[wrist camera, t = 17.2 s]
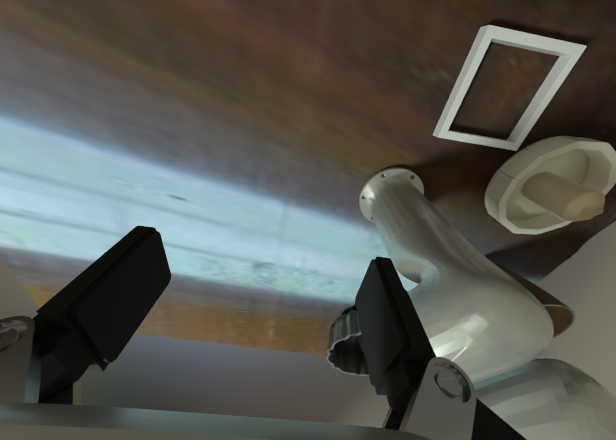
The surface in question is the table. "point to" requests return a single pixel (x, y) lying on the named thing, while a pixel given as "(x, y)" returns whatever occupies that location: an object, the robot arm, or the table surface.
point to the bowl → (554, 159)
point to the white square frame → (545, 93)
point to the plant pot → (547, 303)
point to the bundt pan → (347, 345)
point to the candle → (563, 197)
